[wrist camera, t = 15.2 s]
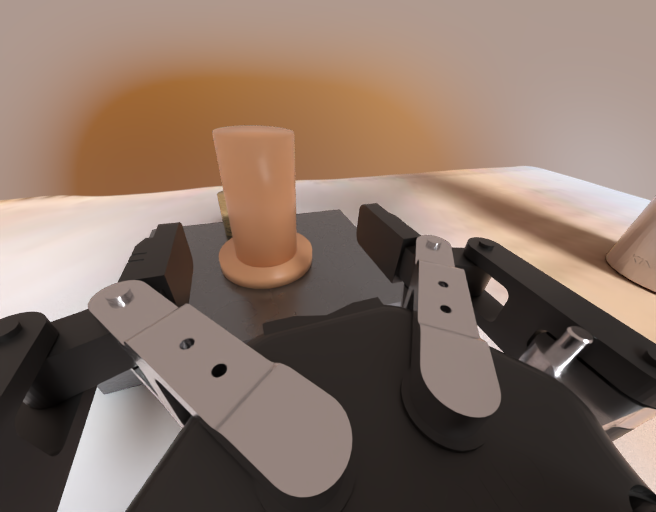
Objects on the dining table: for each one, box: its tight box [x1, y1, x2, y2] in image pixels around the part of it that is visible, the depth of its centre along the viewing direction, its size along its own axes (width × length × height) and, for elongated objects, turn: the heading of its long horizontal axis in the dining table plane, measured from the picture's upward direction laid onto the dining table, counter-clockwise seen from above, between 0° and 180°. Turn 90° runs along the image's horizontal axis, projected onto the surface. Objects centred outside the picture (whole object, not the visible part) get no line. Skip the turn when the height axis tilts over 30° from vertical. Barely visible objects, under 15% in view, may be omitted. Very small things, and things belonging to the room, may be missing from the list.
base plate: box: [97, 191, 404, 394], centre depth 21 cm, size 20×16×6 cm
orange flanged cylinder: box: [212, 125, 312, 289], centre depth 19 cm, size 8×8×10 cm
